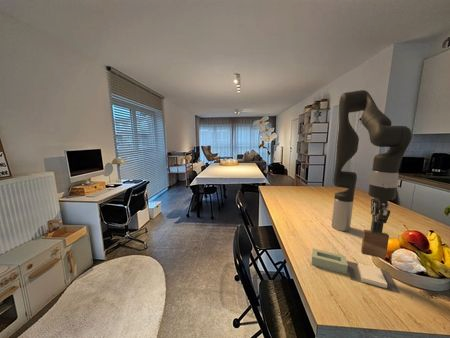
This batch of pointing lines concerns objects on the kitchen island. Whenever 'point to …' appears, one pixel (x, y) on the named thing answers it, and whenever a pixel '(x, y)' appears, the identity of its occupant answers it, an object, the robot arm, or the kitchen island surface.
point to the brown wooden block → (374, 242)
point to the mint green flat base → (329, 261)
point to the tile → (372, 275)
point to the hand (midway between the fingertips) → (376, 229)
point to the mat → (356, 277)
